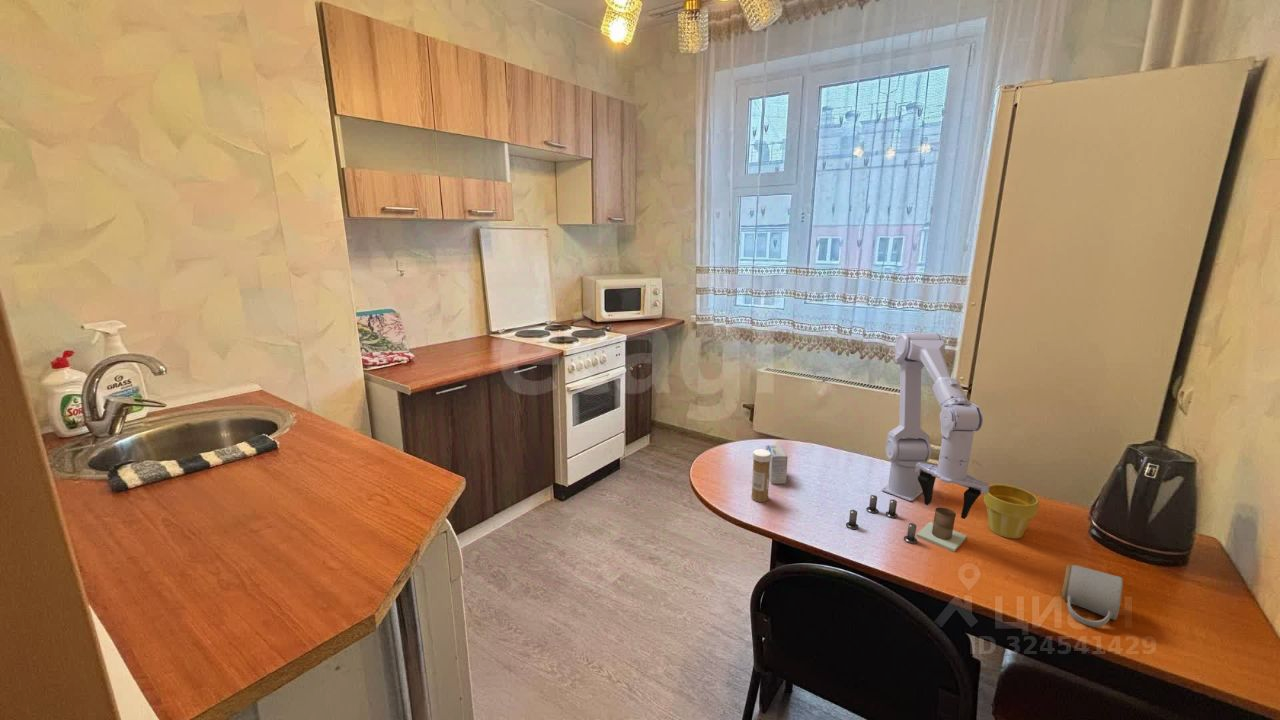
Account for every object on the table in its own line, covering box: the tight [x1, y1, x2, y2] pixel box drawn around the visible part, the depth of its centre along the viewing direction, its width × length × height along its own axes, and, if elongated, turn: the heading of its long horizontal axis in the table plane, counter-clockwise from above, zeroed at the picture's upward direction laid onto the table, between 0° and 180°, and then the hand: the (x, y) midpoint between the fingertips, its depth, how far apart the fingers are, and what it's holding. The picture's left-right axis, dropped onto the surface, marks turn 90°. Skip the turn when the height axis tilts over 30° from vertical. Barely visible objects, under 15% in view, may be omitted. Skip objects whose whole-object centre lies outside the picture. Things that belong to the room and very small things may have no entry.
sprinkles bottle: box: [751, 448, 771, 503], centre depth 135 cm, size 5×5×14 cm
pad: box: [916, 521, 968, 553], centre depth 119 cm, size 8×8×1 cm
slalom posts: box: [845, 494, 918, 545], centre depth 122 cm, size 15×14×4 cm
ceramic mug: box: [1061, 564, 1124, 628], centre depth 95 cm, size 11×8×8 cm
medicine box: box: [765, 444, 789, 485], centre depth 147 cm, size 8×4×9 cm, turn 179°
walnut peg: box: [932, 506, 957, 540], centre depth 118 cm, size 4×4×6 cm
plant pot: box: [983, 483, 1040, 540], centre depth 120 cm, size 10×10×10 cm
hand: (945, 510), depth 117 cm, fingers open, 7 cm apart
